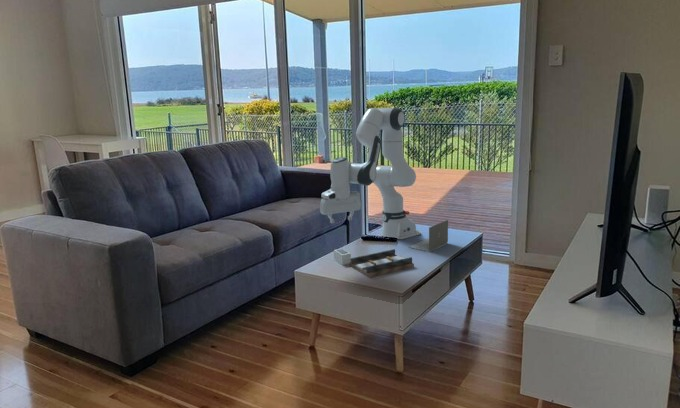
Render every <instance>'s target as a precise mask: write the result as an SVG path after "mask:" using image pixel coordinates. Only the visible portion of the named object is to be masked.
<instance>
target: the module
mask: <svg viewBox="0 0 680 408" xmlns="http://www.w3.org/2000/svg"><path fill="white" fill-rule="evenodd" d="M351 258H352V255H351V253H350V252H349V251H348V250H345V249H344V248H338V249H333V259H334V260H335V261H336V262H337V263H339V264H340V265H342V266H344V265H345V266H346V265H348V264H349V262H351Z"/></svg>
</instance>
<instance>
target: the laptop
mask: <svg viewBox="0 0 680 408" xmlns="http://www.w3.org/2000/svg"><path fill="white" fill-rule="evenodd" d="M448 242H449V219H447V220H444V221H442V222H440V223H437V224H435V225H432V226H430V227H429V228H428V238H425V239H423V240H421V241H419V242H416V243H414V244H412V245H409V246H408V248H409V249H415V250H419V251H423V252H426V253H431V252H433V251H435V250H436V249H439V248H441V247H443V246H445V245H447V244H448Z"/></svg>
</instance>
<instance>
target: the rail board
mask: <svg viewBox="0 0 680 408" xmlns="http://www.w3.org/2000/svg"><path fill="white" fill-rule="evenodd" d="M349 266H350V267H352V268H353V269H354V270H357V272H360V273H362V274H363V276H364V275H365V276H366V277H368V278H372V277H376V276H377V277H378V276H381V275H385V274H390V273H394V272H398V271H402V270H406V269H407V270H408V269H411V268H414V267H415V263H413V257H412V256H410V257H404V256H402V255H397V254H396V249H395V248H394V249H389V250H384V251H380V252H375V253H374V252H373V253H370V254H365V255H364V254H363V255H360V256H355V257H351V262H349Z"/></svg>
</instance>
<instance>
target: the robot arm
mask: <svg viewBox="0 0 680 408" xmlns="http://www.w3.org/2000/svg"><path fill="white" fill-rule="evenodd" d="M405 119H406V117H405V112H404V111H403V109H401V108H397V107H393V108H392V107H379V108H375V107H372V108H369V109H368V110H366V111H365V113H364V114H363V116H362V117H361V119H360V121H359V123H358V125H357V129H356V132H355V136H356V139H357V141H358V142H359V143H360V145H362V146H363V147H366V148H368V149H369V150H368V154H367V158H366V162H364V163H357V162H351V161H349V159H348V158H347V157H345V156H343V157H341V156H340V157H335V158H333V159H332V160H331V163H330V172H329V173H330V181H331V182H330V183H331V185H330V188H329V189H327V190H326V191H323V192H322V193H321V200H320V201H319V202H320V203H319V211H320V214H322V215H324V216H327V217H328V219H329V223H330V224H335V219H334V218H333V214H334V215H335V214H342V213H347V212H349V213H350V214H349V215H347V220H348V221H353V216H354V214H355V211H360V210H361V208H362V203H361V193H360V192H359V191H357V190H354V191H353V190H352V191H351V187H350V184H355V185H362V186H367V187H368V186H371V184H373V185H375V186H376V187H377V188H378V191H379V192H380V194H381V197H382V207H383V208H382V214H381V215H382V216H381V217H382V228H381V232H380V236H381V235H382V236H387V237H395V238H397V239H396V240H405V239H409V238H412V237H415V236H418V235H421V231H420V230H418V229H417V225H416V223H415V222H414V221H413V220H412V219H410V218H409V217H407V216H409V215H410V211H409V210H404V197H403V195H402V194H401V193H400V192H398V191H397V190H396V189H395V187H396V188H398V187H399V188H405V187H406V188H407V187H412V186H413V185H414V184H415V182H416V179H417V174H416V171H415V170H414V169H413V168H412V167H411V166H410V165H409V164H408V162H407V161H406V158H405V155H404V145H403V142H404V141H403V140H404V139H403V136H404V135H403V130H402V127H403V126H404V125H405ZM381 130H382V135H381V137H380V133H381ZM380 153H382V154H381V155H382V156H383V157H384V159H385V160H388V161H389V162H390V165H378V164H379V159H380ZM382 236H381V237H382Z"/></svg>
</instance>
